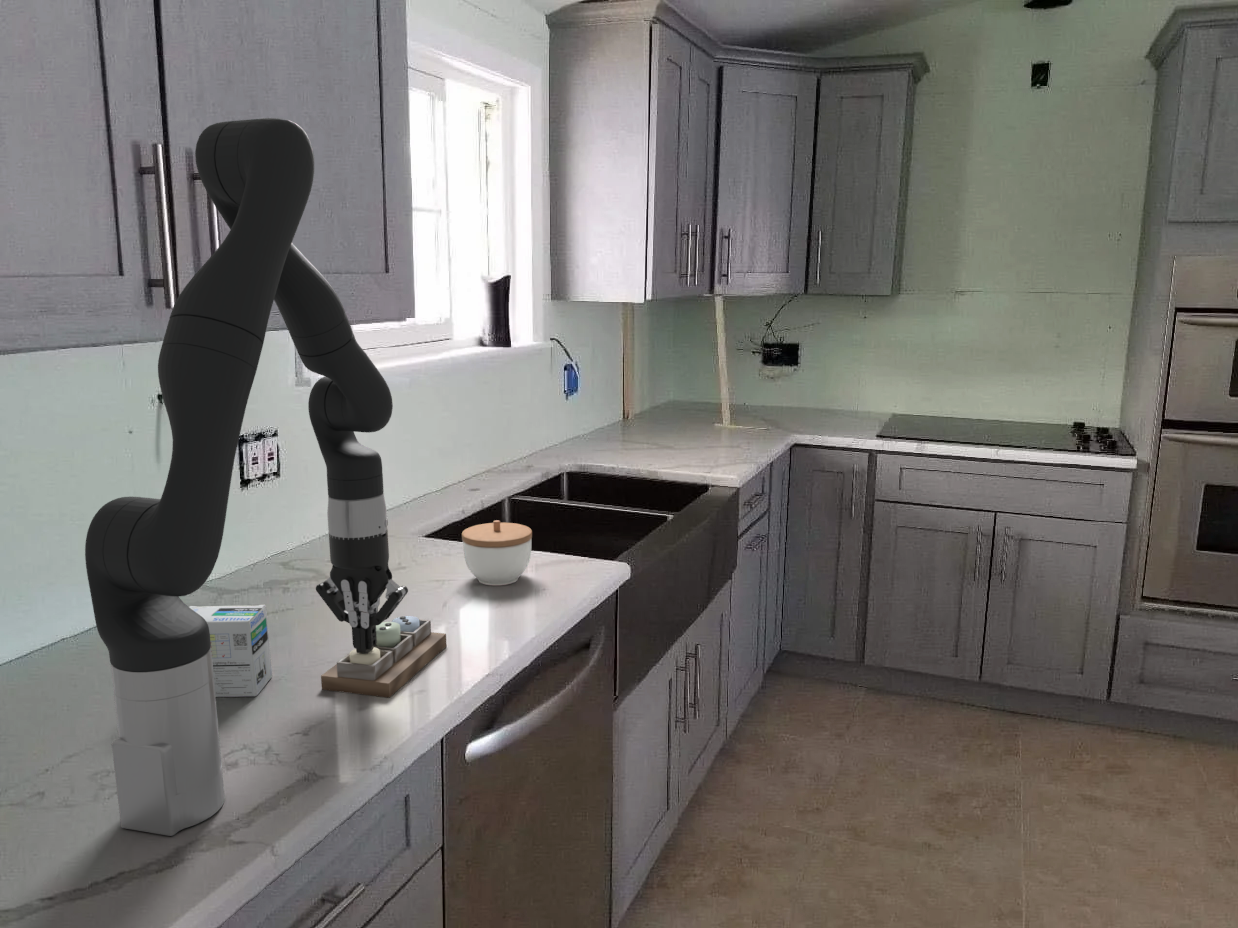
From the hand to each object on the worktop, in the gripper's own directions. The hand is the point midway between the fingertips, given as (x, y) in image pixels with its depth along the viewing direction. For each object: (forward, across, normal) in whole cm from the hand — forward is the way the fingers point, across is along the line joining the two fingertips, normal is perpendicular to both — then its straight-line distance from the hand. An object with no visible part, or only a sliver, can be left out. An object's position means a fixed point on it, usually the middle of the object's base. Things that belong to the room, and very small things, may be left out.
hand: (365, 650), depth 128 cm
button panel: (+5, 0, +6) cm, 8 cm away
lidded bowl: (+5, +1, +46) cm, 47 cm away
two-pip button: (+1, 0, +6) cm, 6 cm away
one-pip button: (+3, 0, 0) cm, 3 cm away
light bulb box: (+5, -18, -6) cm, 20 cm away
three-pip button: (+3, 0, +12) cm, 12 cm away
